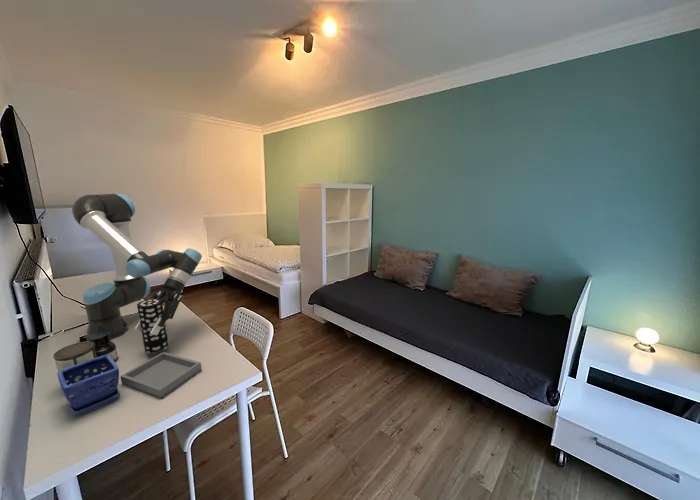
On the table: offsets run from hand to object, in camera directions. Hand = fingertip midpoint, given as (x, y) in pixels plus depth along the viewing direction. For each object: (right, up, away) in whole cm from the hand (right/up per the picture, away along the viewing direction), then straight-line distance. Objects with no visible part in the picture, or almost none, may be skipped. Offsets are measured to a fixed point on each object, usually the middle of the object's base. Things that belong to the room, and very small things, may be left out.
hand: (145, 332), depth 115 cm
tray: (+13, -14, -9) cm, 21 cm away
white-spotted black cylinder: (+1, -8, +5) cm, 10 cm away
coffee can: (-13, -15, -13) cm, 24 cm away
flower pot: (-2, -17, -21) cm, 27 cm away
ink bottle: (-16, -12, 0) cm, 20 cm away
